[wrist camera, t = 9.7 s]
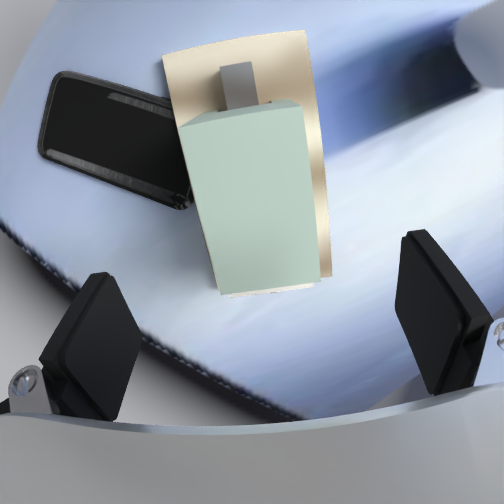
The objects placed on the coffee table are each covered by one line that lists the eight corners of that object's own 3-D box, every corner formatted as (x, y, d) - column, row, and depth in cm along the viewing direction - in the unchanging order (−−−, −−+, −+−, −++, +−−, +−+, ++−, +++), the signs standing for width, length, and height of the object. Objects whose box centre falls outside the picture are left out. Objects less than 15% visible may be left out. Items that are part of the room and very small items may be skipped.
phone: (188, 214, 25) (35, 155, 23) (190, 208, 26) (42, 151, 24) (226, 121, 22) (55, 67, 19) (227, 119, 23) (62, 67, 20)
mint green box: (202, 112, 21) (177, 128, 15) (287, 98, 21) (301, 106, 14) (233, 252, 27) (226, 312, 20) (306, 242, 26) (321, 299, 20)
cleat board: (165, 56, 20) (153, 53, 17) (303, 31, 19) (309, 25, 16) (220, 284, 30) (216, 305, 27) (330, 269, 29) (336, 289, 26)
